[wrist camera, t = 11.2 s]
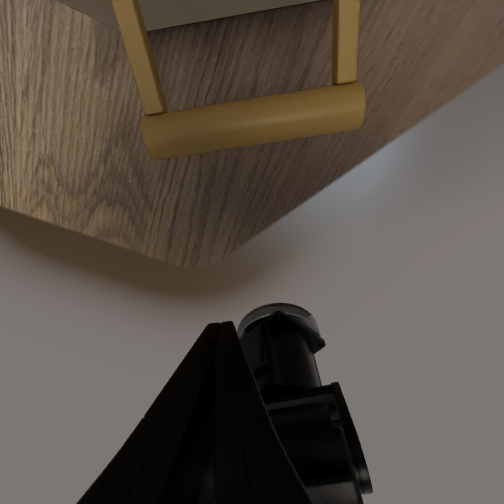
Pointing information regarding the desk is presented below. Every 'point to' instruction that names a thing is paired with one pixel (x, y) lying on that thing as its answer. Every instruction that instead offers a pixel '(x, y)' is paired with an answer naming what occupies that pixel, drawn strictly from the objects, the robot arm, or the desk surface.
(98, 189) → the desk surface
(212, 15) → the drawer
